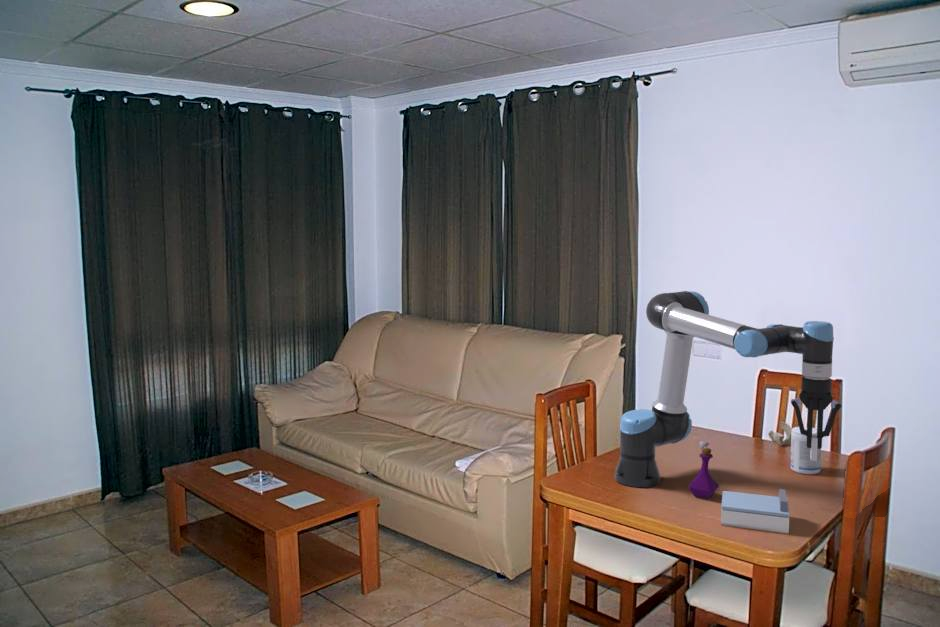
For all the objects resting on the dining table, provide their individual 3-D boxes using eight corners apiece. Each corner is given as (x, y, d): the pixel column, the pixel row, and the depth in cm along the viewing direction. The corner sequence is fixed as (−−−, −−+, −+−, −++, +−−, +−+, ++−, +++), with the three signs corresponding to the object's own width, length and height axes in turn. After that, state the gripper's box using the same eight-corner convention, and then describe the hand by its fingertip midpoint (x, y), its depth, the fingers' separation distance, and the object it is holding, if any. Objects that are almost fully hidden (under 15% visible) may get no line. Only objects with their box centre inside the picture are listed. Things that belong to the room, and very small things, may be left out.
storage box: (720, 524, 208) (721, 509, 208) (722, 508, 220) (722, 494, 220) (788, 533, 202) (789, 518, 201) (786, 516, 214) (786, 501, 213)
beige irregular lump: (766, 442, 281) (769, 417, 284) (766, 446, 286) (770, 422, 289) (790, 446, 277) (793, 421, 280) (790, 450, 282) (793, 426, 286)
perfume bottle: (696, 489, 236) (697, 436, 234) (719, 494, 231) (720, 440, 229) (687, 496, 230) (688, 442, 228) (710, 502, 225) (711, 446, 223)
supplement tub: (825, 471, 251) (827, 430, 249) (810, 477, 246) (811, 435, 244) (799, 464, 259) (801, 424, 257) (784, 469, 254) (785, 429, 252)
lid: (721, 508, 208) (721, 496, 207) (722, 493, 220) (723, 481, 219) (789, 517, 201) (789, 504, 201) (787, 500, 213) (787, 488, 213)
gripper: (791, 378, 199) (789, 461, 202) (844, 381, 194) (840, 465, 197) (790, 373, 206) (787, 453, 209) (841, 375, 201) (837, 457, 204)
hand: (813, 459), depth 203 cm, fingers closed
